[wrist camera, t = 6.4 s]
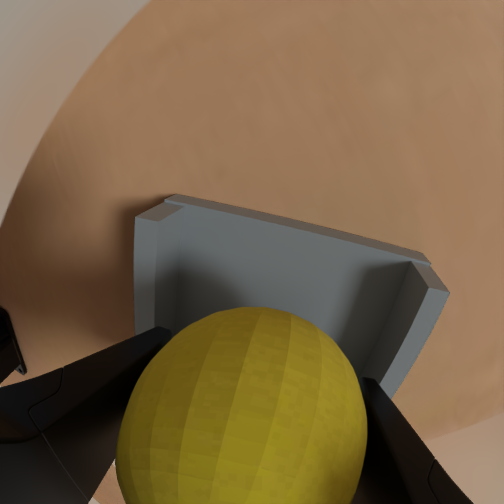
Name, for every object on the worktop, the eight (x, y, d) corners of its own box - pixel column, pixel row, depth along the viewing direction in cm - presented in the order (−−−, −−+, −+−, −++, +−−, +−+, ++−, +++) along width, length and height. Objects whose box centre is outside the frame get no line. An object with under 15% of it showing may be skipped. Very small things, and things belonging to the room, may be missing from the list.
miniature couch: (166, 346, 14) (117, 418, 10) (176, 193, 11) (94, 234, 7) (356, 393, 13) (361, 479, 9) (422, 253, 10) (477, 327, 6)
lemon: (267, 410, 11) (220, 591, 4) (163, 321, 11) (31, 501, 3) (386, 343, 9) (419, 583, 2) (274, 220, 9) (127, 529, 1)
